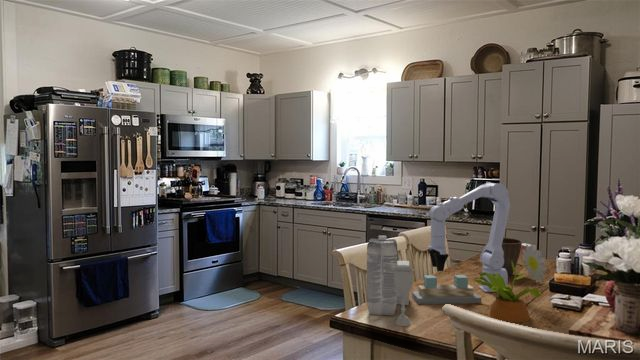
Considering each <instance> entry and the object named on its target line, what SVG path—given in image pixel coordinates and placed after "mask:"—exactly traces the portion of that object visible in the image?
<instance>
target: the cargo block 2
mask: <svg viewBox="0 0 640 360" xmlns="http://www.w3.org/2000/svg"><path fill="white" fill-rule="evenodd" d="M468 281H469V278H468V276H467V275H465V274H454V276H453V285H454V286H455V287H457V288H468V285H469V282H468Z"/></svg>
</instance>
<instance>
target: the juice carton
mask: <svg viewBox="0 0 640 360" xmlns="http://www.w3.org/2000/svg"><path fill="white" fill-rule="evenodd" d="M377 237H378V238H370V239H369V241H368V243H367V247H366V306H367V310H368V313H369V315H374V316H392V317H393V316H395V314H396V309H397V305H398V304H397V290H396V288H395V284H394V271H393V268H396V267H397V261H398V244H397V240H396V239H394V238H391V239H387V235H378V236H377Z"/></svg>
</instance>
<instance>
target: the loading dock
mask: <svg viewBox="0 0 640 360" xmlns="http://www.w3.org/2000/svg"><path fill="white" fill-rule="evenodd" d="M411 297H412V298H413V300H414V301H415V302H416V303H417V304H418V305H425V304H426V305H428V304H429V305H431V304H432V305H433V304H434V305H436V304H437V305H438V304H439V305H442V304H444V305H445V304H449V305H450V304H482V297H481V296H480V295H478V293H476V292H475V291H474V296H436V297H421V295H420V294H419V293H418V290H417V291H416V290H415V291H412V290H411Z"/></svg>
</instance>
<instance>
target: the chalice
mask: <svg viewBox="0 0 640 360" xmlns="http://www.w3.org/2000/svg"><path fill="white" fill-rule="evenodd" d="M393 271H394V284H395V288H396V290H397V293H398V295H399V297H401V298H402V302H401V308H400V310H401V314H400V315H398V316H397V318H396V321H395V325H397V326H399V327H409V326H411V321H410V318H409V317H408V316H407V315H406V314H405V311H406V310H407V309H406V308H405V306H406V305H405V304H406V303H405V301H404V300H405V297H407V296H408V294H409V295H410V291H412V287H413V273H414V271H415V270H414V268H411V267H410V268H408V267H396V268H393Z"/></svg>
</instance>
